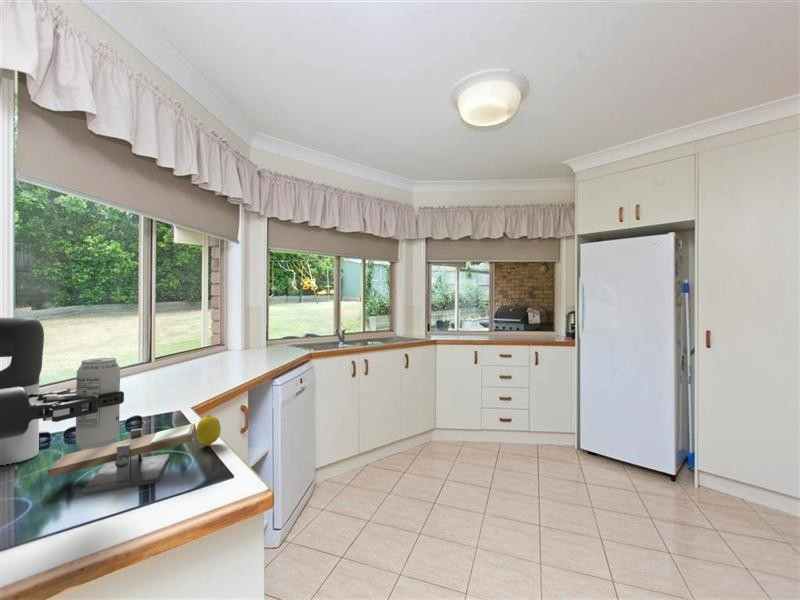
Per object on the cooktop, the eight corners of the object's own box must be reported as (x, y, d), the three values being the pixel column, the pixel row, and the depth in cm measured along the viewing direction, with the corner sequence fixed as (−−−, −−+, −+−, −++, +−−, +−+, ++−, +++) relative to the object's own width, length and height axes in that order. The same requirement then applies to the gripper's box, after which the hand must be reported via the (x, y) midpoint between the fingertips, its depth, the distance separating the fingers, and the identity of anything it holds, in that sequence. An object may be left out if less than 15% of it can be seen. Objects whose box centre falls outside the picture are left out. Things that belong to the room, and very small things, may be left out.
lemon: (224, 445, 94) (224, 414, 94) (201, 452, 90) (201, 419, 90) (215, 440, 98) (215, 410, 98) (192, 446, 93) (192, 415, 93)
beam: (48, 477, 70) (47, 469, 70) (67, 461, 77) (65, 453, 77) (191, 441, 79) (190, 433, 79) (196, 429, 86) (194, 422, 86)
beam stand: (82, 495, 70) (82, 452, 70) (105, 467, 82) (106, 431, 82) (157, 482, 74) (157, 443, 74) (168, 458, 86) (168, 424, 86)
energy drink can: (126, 440, 67) (127, 358, 67) (87, 452, 62) (89, 363, 62) (107, 435, 70) (108, 356, 70) (68, 446, 64) (69, 361, 64)
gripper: (-8, 398, 50) (133, 378, 64) (-32, 386, 57) (99, 370, 72) (-9, 454, 50) (132, 421, 64) (-33, 434, 57) (98, 408, 72)
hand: (114, 394), depth 68 cm, fingers closed on energy drink can, 6 cm apart
